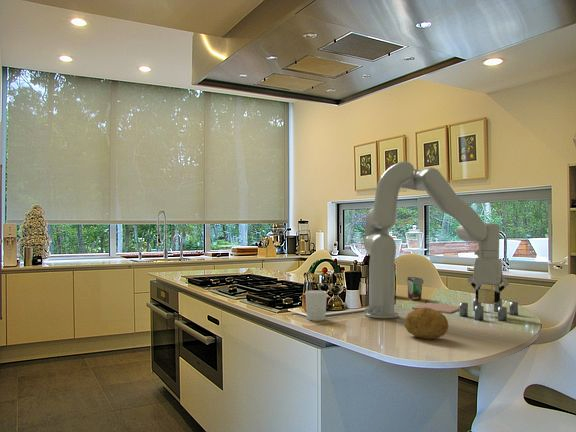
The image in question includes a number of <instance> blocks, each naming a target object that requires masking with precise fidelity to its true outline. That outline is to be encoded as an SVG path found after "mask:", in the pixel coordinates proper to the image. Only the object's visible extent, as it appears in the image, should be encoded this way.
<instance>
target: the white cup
mask: <svg viewBox="0 0 576 432" xmlns="http://www.w3.org/2000/svg"><path fill="white" fill-rule="evenodd" d="M327 293H328V291H325V290H314V289H313V290H305V307H306V308H305V311H306V320H309V321H315V322H316V321H317V322H319V321H325V320H326V312H327V298H328V297H327V296H328V294H327Z"/></svg>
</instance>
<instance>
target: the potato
mask: <svg viewBox="0 0 576 432" xmlns="http://www.w3.org/2000/svg"><path fill="white" fill-rule="evenodd" d="M404 327H405V329H406V331H407V332H408V333H409V334H411V335H412V336H414V337H416V338H419V339H424V340H435V339H439V338H441V337H443V336H444V335H445V334H446V333H447V332H448V329H449V321H448V319H447V317H446V316H445V315H444V314H443V313H442V312H438V311H436V310H433V309H431V308H426V307H424V308H420V309H413V310H412V311H410V312H409V313H407V315H406V316H405V318H404Z"/></svg>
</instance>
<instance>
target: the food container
mask: <svg viewBox="0 0 576 432" xmlns="http://www.w3.org/2000/svg"><path fill="white" fill-rule="evenodd" d="M406 281H407V299H409V300H411V301H413V302H417V301H421V300H422V291H423V284H424V283H425V281H424V279H423V278H422V277H417V276H407V280H406Z"/></svg>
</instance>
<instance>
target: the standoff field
mask: <svg viewBox="0 0 576 432" xmlns="http://www.w3.org/2000/svg"><path fill="white" fill-rule="evenodd" d="M472 299H473V300H472V309H473V312H474V321H477V320H478V322H479V321H482V320H483V321H484V319H485V318H484V316H485V315H484V306H482V303H479V302H478V301H477V298H476V297H473V298H472ZM459 306H460V310H459V317H461V318H462V317H463V318H468V317H469V303H468V302H459ZM507 309H508V307H506V306H503V299H501V298H500V301H499V302H498V303H496V304H493V312H496V313H497V321H498V322H501V321H507V322H508V318H507V317H508V310H507ZM513 315H518V316H519V302H518V301H509V316H513ZM483 321H482V322H483Z"/></svg>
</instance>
